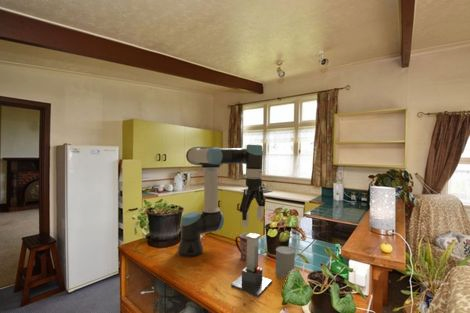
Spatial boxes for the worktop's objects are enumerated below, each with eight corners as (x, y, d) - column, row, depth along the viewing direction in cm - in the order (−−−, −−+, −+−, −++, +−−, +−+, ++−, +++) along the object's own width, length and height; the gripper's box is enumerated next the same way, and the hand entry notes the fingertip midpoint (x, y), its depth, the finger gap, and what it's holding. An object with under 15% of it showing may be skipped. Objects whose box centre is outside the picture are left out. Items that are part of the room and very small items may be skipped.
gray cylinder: (290, 280, 112) (291, 255, 112) (272, 275, 117) (272, 251, 117) (296, 272, 120) (297, 248, 120) (279, 267, 125) (279, 244, 125)
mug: (257, 258, 136) (258, 235, 135) (249, 263, 128) (249, 239, 128) (240, 252, 143) (240, 230, 143) (231, 257, 136) (231, 234, 136)
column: (244, 269, 108) (245, 235, 108) (250, 265, 112) (250, 232, 112) (254, 273, 105) (255, 238, 105) (259, 268, 109) (260, 234, 109)
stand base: (231, 286, 107) (231, 268, 107) (246, 273, 119) (247, 256, 118) (258, 297, 99) (258, 277, 99) (272, 282, 111) (272, 264, 111)
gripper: (246, 181, 95) (245, 232, 96) (272, 176, 116) (271, 218, 117) (231, 179, 99) (230, 228, 100) (259, 174, 120) (258, 215, 121)
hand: (252, 223), depth 108 cm, fingers open, 13 cm apart
